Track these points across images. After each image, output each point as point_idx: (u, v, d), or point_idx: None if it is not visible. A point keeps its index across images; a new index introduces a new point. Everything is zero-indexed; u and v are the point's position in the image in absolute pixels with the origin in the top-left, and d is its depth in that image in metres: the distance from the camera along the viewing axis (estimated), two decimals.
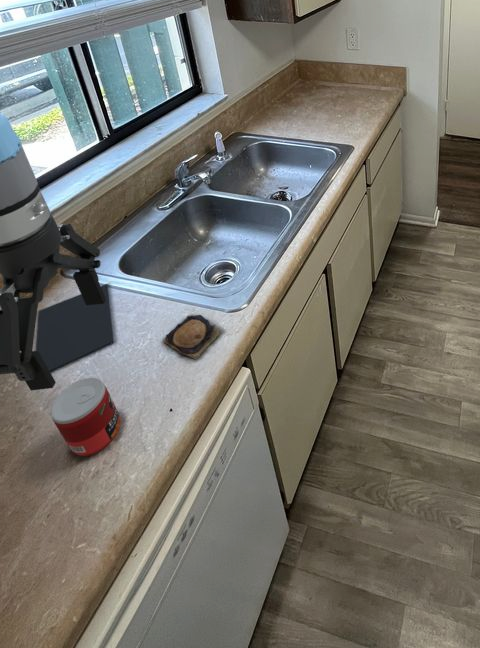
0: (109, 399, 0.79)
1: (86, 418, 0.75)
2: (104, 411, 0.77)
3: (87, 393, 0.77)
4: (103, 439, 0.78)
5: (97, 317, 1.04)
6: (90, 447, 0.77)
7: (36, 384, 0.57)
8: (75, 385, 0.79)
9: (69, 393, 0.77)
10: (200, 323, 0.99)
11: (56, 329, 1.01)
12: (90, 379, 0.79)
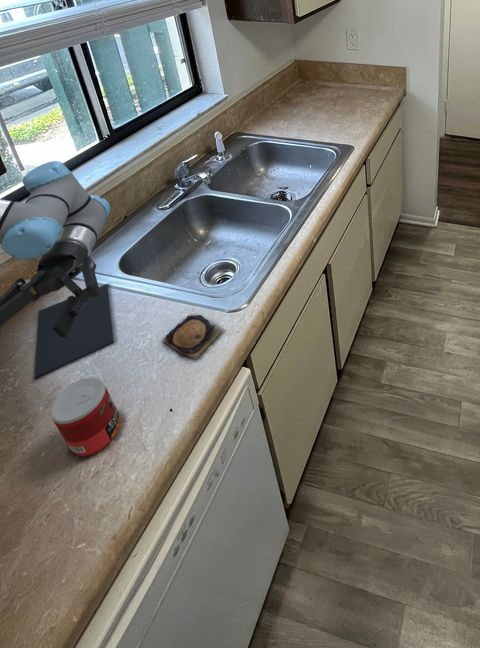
0: (109, 399, 0.79)
1: (86, 418, 0.75)
2: (104, 411, 0.77)
3: (87, 393, 0.77)
4: (103, 439, 0.78)
5: (97, 317, 1.04)
6: (90, 447, 0.77)
7: (63, 325, 0.74)
8: (75, 385, 0.79)
9: (69, 393, 0.77)
10: (200, 323, 0.99)
11: None
12: (90, 379, 0.79)
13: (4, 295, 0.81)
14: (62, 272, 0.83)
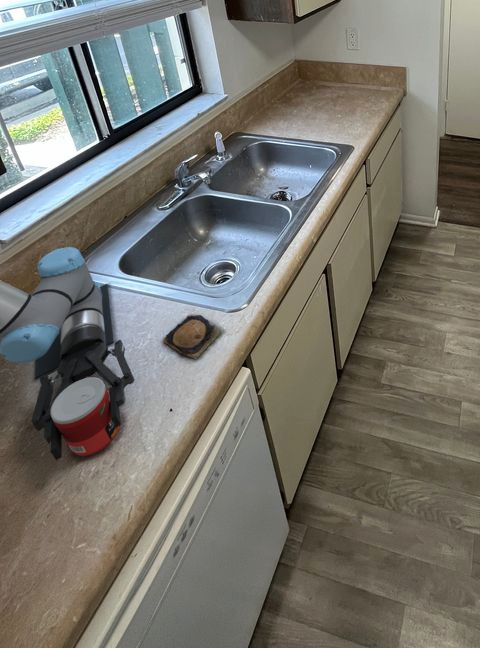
0: (109, 399, 0.79)
1: (87, 418, 0.75)
2: (104, 411, 0.77)
3: (87, 393, 0.77)
4: (103, 439, 0.78)
5: None
6: (90, 447, 0.77)
7: (117, 414, 0.78)
8: (75, 385, 0.79)
9: (69, 393, 0.77)
10: (200, 323, 0.99)
11: None
12: (90, 379, 0.79)
13: (42, 391, 0.81)
14: (96, 358, 0.86)
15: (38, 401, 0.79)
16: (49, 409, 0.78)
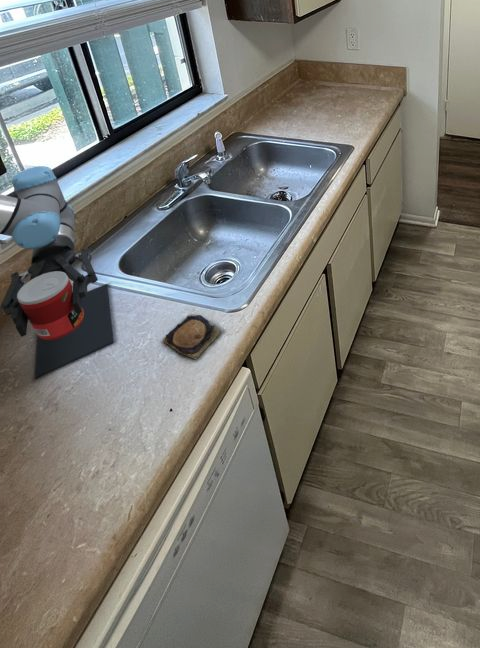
0: (72, 290, 0.87)
1: (49, 301, 0.83)
2: (66, 298, 0.85)
3: (51, 283, 0.85)
4: (66, 325, 0.86)
5: (97, 317, 1.04)
6: (54, 331, 0.85)
7: (79, 302, 0.86)
8: (41, 277, 0.87)
9: (35, 282, 0.86)
10: (200, 323, 0.99)
11: None
12: (55, 272, 0.88)
13: (13, 284, 0.89)
14: (63, 260, 0.94)
15: (8, 291, 0.87)
16: None
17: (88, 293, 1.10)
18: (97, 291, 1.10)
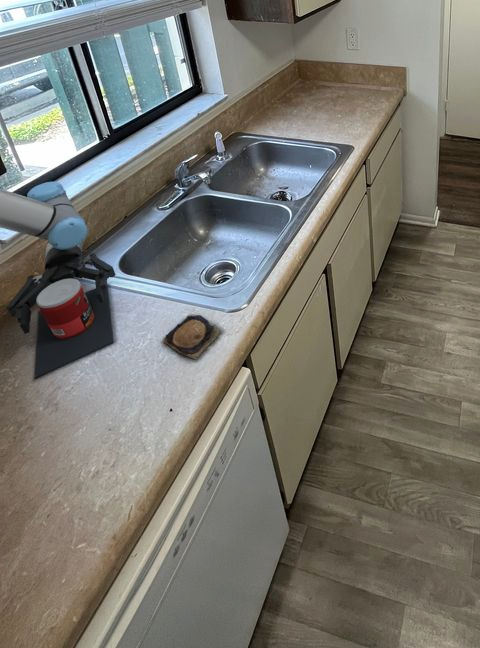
0: (84, 295, 1.00)
1: (65, 305, 0.95)
2: (79, 302, 0.98)
3: (65, 289, 0.98)
4: (79, 326, 0.99)
5: (97, 317, 1.04)
6: (68, 331, 0.98)
7: (101, 293, 1.00)
8: (56, 283, 0.99)
9: (51, 288, 0.98)
10: (200, 323, 0.99)
11: None
12: (69, 279, 1.00)
13: (24, 287, 1.01)
14: (76, 264, 1.07)
15: (18, 293, 0.99)
16: (23, 299, 0.98)
17: (88, 293, 1.10)
18: None
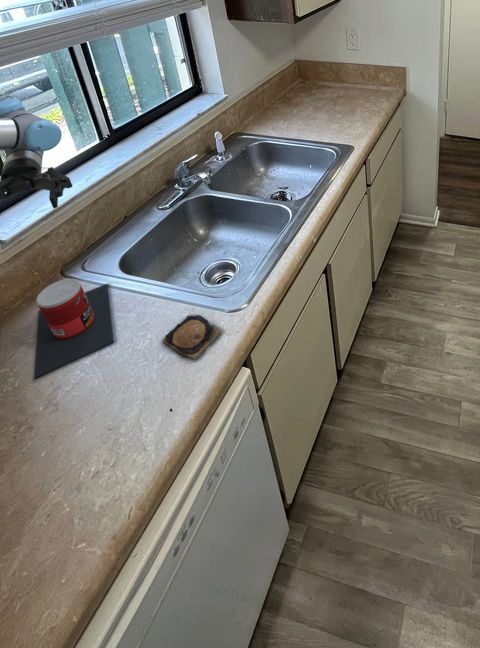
0: (84, 295, 1.00)
1: (65, 305, 0.95)
2: (79, 302, 0.98)
3: (65, 289, 0.98)
4: (79, 326, 0.99)
5: (97, 317, 1.04)
6: (68, 331, 0.98)
7: (55, 199, 1.00)
8: (56, 283, 0.99)
9: (51, 288, 0.98)
10: (200, 323, 0.99)
11: None
12: (69, 279, 1.00)
13: None
14: (32, 175, 1.06)
15: None
16: None
17: (88, 293, 1.10)
18: (97, 291, 1.10)
